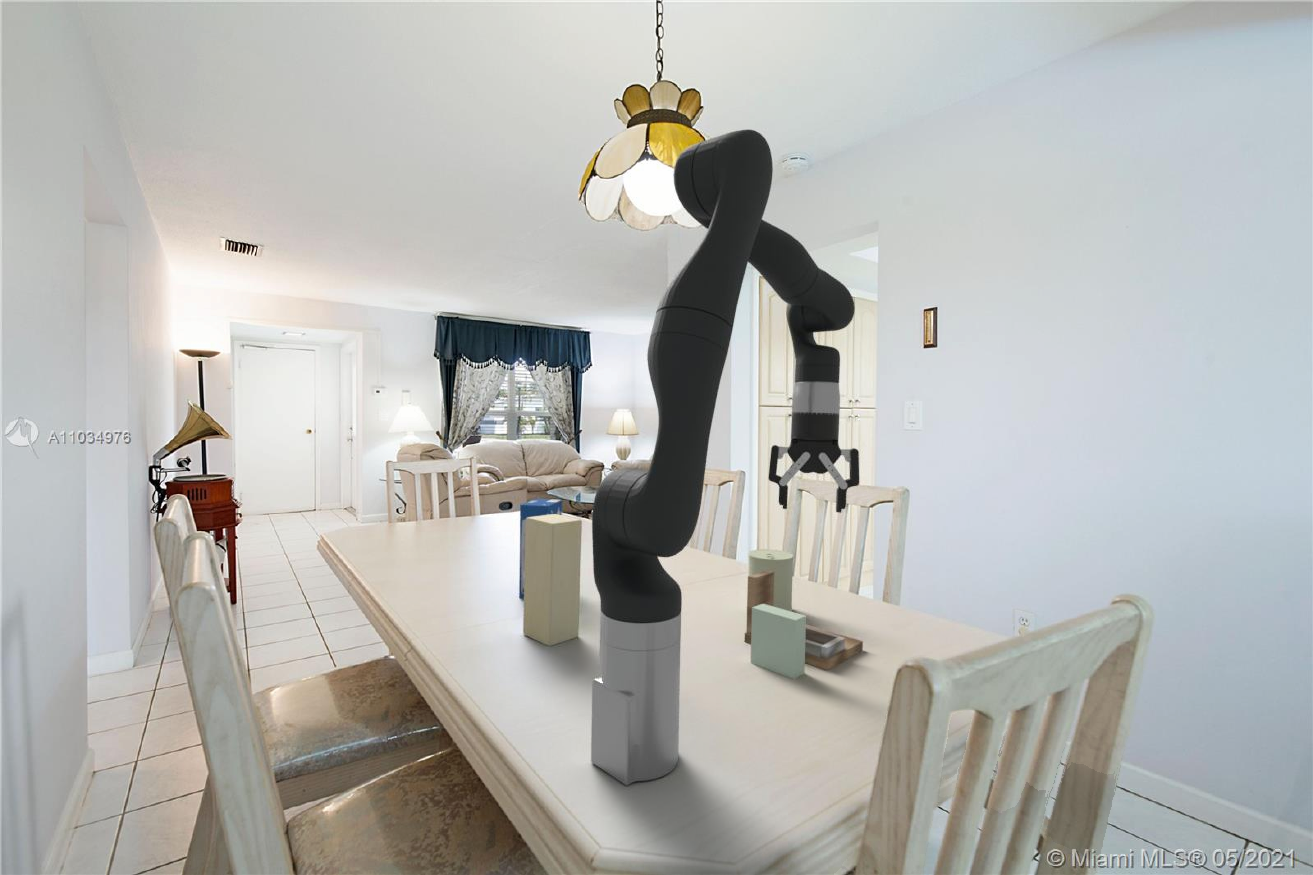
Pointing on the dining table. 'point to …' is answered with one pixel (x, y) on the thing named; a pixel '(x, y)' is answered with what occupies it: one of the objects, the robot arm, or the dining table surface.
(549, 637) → the tall beige block
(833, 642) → the track base
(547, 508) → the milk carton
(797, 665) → the door panel
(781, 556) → the can
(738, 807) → the dining table surface
